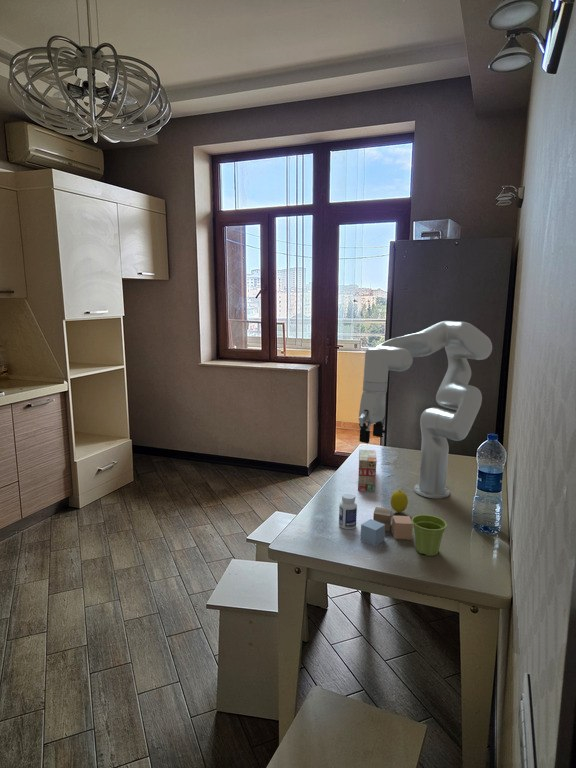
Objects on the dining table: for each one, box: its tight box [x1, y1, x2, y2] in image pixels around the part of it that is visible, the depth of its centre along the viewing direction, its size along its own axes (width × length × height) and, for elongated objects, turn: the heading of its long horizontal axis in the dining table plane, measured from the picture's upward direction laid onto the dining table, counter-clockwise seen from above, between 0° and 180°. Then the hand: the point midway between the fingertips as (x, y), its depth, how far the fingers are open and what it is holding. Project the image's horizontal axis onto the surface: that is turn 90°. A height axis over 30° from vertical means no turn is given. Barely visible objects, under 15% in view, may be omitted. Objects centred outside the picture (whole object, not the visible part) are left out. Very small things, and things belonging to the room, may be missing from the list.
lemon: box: [390, 489, 409, 514], centre depth 156 cm, size 6×6×8 cm
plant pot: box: [411, 514, 448, 557], centre depth 132 cm, size 9×9×9 cm
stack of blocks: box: [357, 449, 378, 493], centre depth 183 cm, size 21×6×12 cm, turn 171°
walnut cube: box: [372, 506, 393, 532], centre depth 147 cm, size 5×5×5 cm
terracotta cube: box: [391, 515, 414, 540], centre depth 141 cm, size 5×5×5 cm
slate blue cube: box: [360, 518, 386, 547], centre depth 138 cm, size 5×5×5 cm
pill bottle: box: [338, 493, 358, 530], centre depth 146 cm, size 5×5×10 cm
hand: (370, 439), depth 152 cm, fingers open, 9 cm apart
